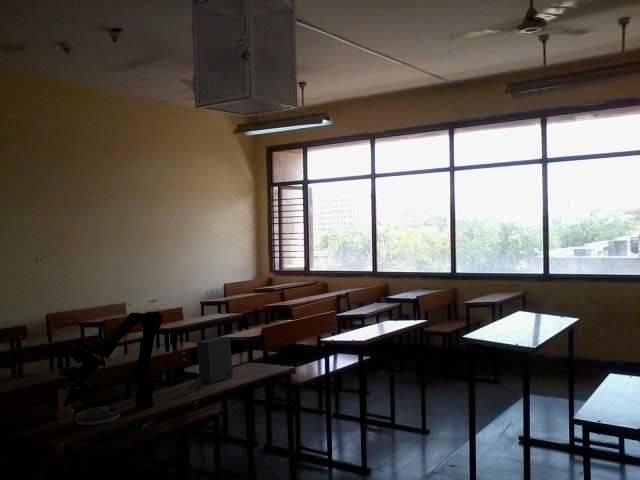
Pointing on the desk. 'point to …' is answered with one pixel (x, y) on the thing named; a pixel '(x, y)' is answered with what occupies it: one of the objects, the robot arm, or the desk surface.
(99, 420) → the carrier plate
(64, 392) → the brown waisted peg
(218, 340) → the hard drive box
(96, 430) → the desk surface
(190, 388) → the caliper
